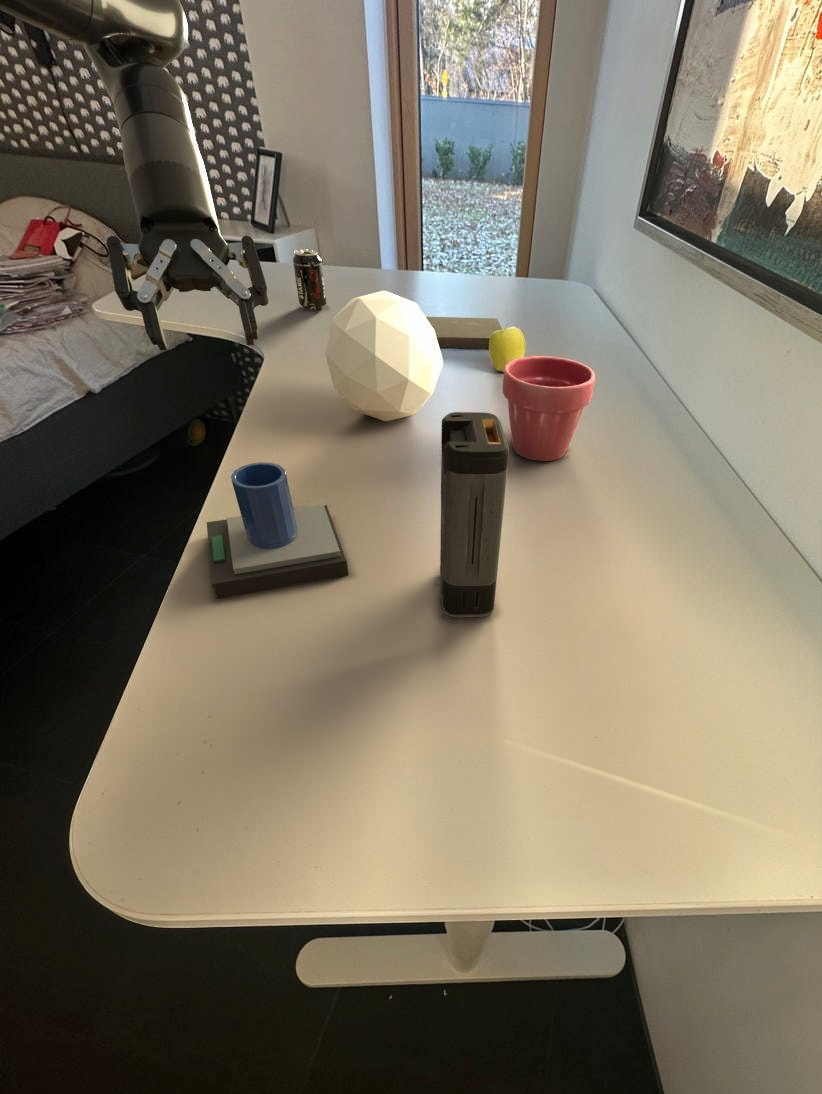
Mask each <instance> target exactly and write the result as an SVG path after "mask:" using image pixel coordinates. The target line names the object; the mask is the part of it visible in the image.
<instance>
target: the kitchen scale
mask: <svg viewBox="0 0 822 1094" xmlns="http://www.w3.org/2000/svg"><path fill="white" fill-rule="evenodd" d="M293 510H294V515H295V520H296V525H297V531H298V535H297V537H296V539H295V540H294V541H293V542H291V543H290V544H288V545H286V546H283V547H279V548H274V549H264V548H259V547H256V546H254V545H252V544H251V543H250V542H249V540H248V537H247V534H246V530H245V527H244V523H243V520H242V516H241V515H238V516H230V517H226V519H220V520H212V521H206V531H207V532H206V533H207V543H208V553H209V556H208V557H209V567H210V577H211V586H212V588H213V592H214V594H215V597H216V599H217V600H218V599H225V598H230V597H235V596H241V595H246V594H253V593H257V592H264V591H268V590H269V591H270V590H275V589H280V588H285V587H290V586H295V585H301V584H306V583H312V582H317V581H322V580H323V581H324V580H328V579H333V578H334V579H335V578H339V577H345V576H349V568H348V561H347V557H346V554H345V552H344V550H343V546H342V544H341V541H340V538H339V535H338V533H337V530H336V527H335V525H334V522H333V518H332V516H331V513H330V511H329V508H328V505H327V504H324V503H321V504H320V503H319V504H313V505H307V506H299V507H293Z"/></svg>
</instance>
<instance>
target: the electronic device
mask: <svg viewBox="0 0 822 1094" xmlns="http://www.w3.org/2000/svg"><path fill="white" fill-rule="evenodd" d="M440 434H441V436H440V437H441V441H440V443H441V445H440V446H441V451H440V452H441V457H440V458H441V462H440V463H441V464H440V550H439V553H440V555H439V556H440V557H439V559H440V561H439V563H440V564H439V570H440V571H439V579H440V592H441V604H442V605H441V606H442V610H443V612H444V613H445V614H446V615H447V616H450V617H452V618H483V617H487V616H489V615H491V614H492V613H493V612H494V611H495V610H494V608H495V599H496V590H497V581H498V580H497V579H498V571H499V570H498V569H499V560H500V551H501V550H500V549H501V540H502V539H501V538H502V530H503V518H504V510H505V509H504V508H505V498H506V490H507V489H506V488H507V477H508V468H509V458H510V446H509V443H508V440H507V437H506V433H505V430H504V427H503V424H502V421H501V419H500V418H498V417H497V415H495V413H494V414H493V413H491V412H482V411H481V412H479V411H478V412H477V411H476V412H475V411H473V412H472V411H469V412H468V411H455V412H454V411H453V412H448V413H447V414H446V415H444V417H442V419H441V433H440Z"/></svg>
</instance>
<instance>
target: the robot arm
mask: <svg viewBox="0 0 822 1094" xmlns="http://www.w3.org/2000/svg"><path fill="white" fill-rule="evenodd" d="M0 11H2V12H4V13H6V14H8V15H10V16H11V17H14V18H16V19H18V20H21V21H22V22H25V23H27V24H29V25H31V26H33V27H36V28H37V29H40V30H41V31H44V32H46V33H48V34H51V35H53V36H54V37H57V38H60V39H62V40H64V41H66V42H69V43H72V44H75V45H79V46H83V48H84V50H85V52H86V53H87V55H88V57H89V59H90V60H91V62H92V64H93V66H94V68H95V70H96V72H97V74H98V76H99V78H100V80H101V82H102V84H103V86H104V88H105V90H106V92H107V94H108V96H109V98H110V100H111V102H112V105H113V110H114V113H115V118H116V121H117V126H118V131H119V134H120V139H121V146H122V157H123V164H124V168H125V172H126V176H127V180H128V184H129V189H130V194H131V197H132V201H133V206H134V210H135V215H136V220H137V222H138V227H139V230H140V238H139V242H138V243H126V242H124V243H123V242H121V240H120V238H118V237H117V236H114V235H110V236H108V237H107V238H106V245H107V250H108V256H109V261H110V262H109V263H110V268H111V269H110V270H111V273H112V280H113V286H114V287H113V288H114V292H115V293H116V294H115V295H117V297H118V300H119V301H120V303H121V305H122V307H123V308H124V310H126V311H127V312H133V311H137V312H140V313H141V316H142V320H143V324H144V328H145V329H144V330H145V333H146V334H147V337H148V339H149V341H150V342H151V344H152V345H153V346H157V348H158V349H159V351H160V352H161V351H168V345H167V340H166V337H165V332H164V328H163V324H162V320H161V315H160V314H159V310H160V308H161V307H162V305H163V304H164V302H167V301H168V299H169V298H170V296H171V295H172V292H173V290H178V292H179V293H188V292H192V291H200V292H212V289H214V288H216V289H217V290H218V291H219V292H220V293H221V294H222V295H223V296H224V297H225V298H226V299H228V300H231V301H232V302H233V303H234V304H235V305H236V306H237V307H238V310H239V315H240V321H241V324H242V328H243V333H244V336H245V337H244V338H245V341H246V345H247V347H249V346H250V347H251V346H255V341H254V340H258V339H259V328H258V323H257V319H256V314H255V311H254V310H255V309H256V307H258V306H261V307H266V306H268V304H269V296H268V286H267V282H266V279H265V275H264V272H263V269H262V268H263V267H262V265H261V262H260V258H259V255H258V250H257V248H256V244H255V241H254V239H253V238H252V237H251V236H249V235H243V236H242V237H241V241H238V242H226V240H225V239H224V238H223V236H222V235H221V230H220V226H219V223H218V217H217V214H216V209H215V205H214V201H213V197H212V193H211V185H210V183H209V180H208V175H207V171H206V167H205V164H204V160H203V157H202V155H201V153H200V149H199V146H198V144H197V139H196V134H195V130H194V126H193V122H192V117H191V114H190V113H191V112H190V109H189V105H188V102H187V99H186V96H185V94H184V91H183V89H182V87H181V86H180V84H179V83H178V81H177V80H176V78H175V77H174V76H173V75H172V74H170V73H169V72H168V71H167V70H165V69H164V68H166V67H167V66H168V65H170V64H171V63H173V61H175V60H176V59H177V58H178V57H180V56H181V55H182V54H183V52H184V50H186V49H185V48H186V47H187V44H188V37H189V28H188V27H189V26H188V21H187V16H186V14H185V10H184V7H183V5H182V3H181V1H180V0H0ZM231 259H234V260H236V261H237V262H238V265H239V266H240V267H242V268H243V269H247V272H248V277H249V279H250V282H251V283H250V284H251V286H250V287H247V286H246V285H244V284H243V283H242V282H241V281H240V280H239V279H238V278H237V277H236V276H235V274H234V272H233V271H232V270H231V269H230V268H229V267H228V265H229V263H230V261H231ZM140 260H142V261H143V262H144V263H145V264H146V265H147V266H148V269H147V271H146V273H145V279H144V281H143V283H142V285H141V287H140V288H139V290H134V286H133V280H132V273H131V271H132V272H134V271H135V270H136V268H137V263H138V262H139V261H140Z"/></svg>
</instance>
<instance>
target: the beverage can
mask: <svg viewBox="0 0 822 1094" xmlns="http://www.w3.org/2000/svg"><path fill="white" fill-rule="evenodd" d="M293 252H294V253H293V254H294V256H293V258H292V264H293V271H294V278H295V284H296V285H295V286H296V291H297V298H298V303H299V305H300V306H301V307H302V308H304V309H305V310H310V311H318V310H322V309H323V308H325V307H326V305H327V295H326V287H325V280H324V272H323V271H324V270H323V263H322V262H323V261H322V259H321V257H320V256H319V251H316V250H314V249H296V250H294V251H293Z"/></svg>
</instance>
